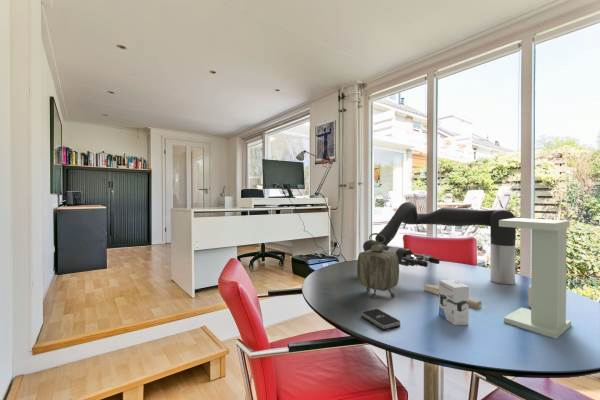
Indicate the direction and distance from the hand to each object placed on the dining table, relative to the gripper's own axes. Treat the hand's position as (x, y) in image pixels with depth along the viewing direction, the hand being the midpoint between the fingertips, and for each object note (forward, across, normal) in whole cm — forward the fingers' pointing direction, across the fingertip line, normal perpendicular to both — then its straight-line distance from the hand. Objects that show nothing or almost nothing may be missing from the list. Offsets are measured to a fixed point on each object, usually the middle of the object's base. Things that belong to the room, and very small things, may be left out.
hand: (433, 262), depth 115 cm
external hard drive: (+6, +39, -13) cm, 41 cm away
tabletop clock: (-10, +22, -12) cm, 27 cm away
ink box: (+18, +18, -12) cm, 28 cm away
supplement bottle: (+29, -16, -13) cm, 36 cm away
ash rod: (+7, 0, -13) cm, 15 cm away
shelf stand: (+32, 0, -12) cm, 35 cm away
